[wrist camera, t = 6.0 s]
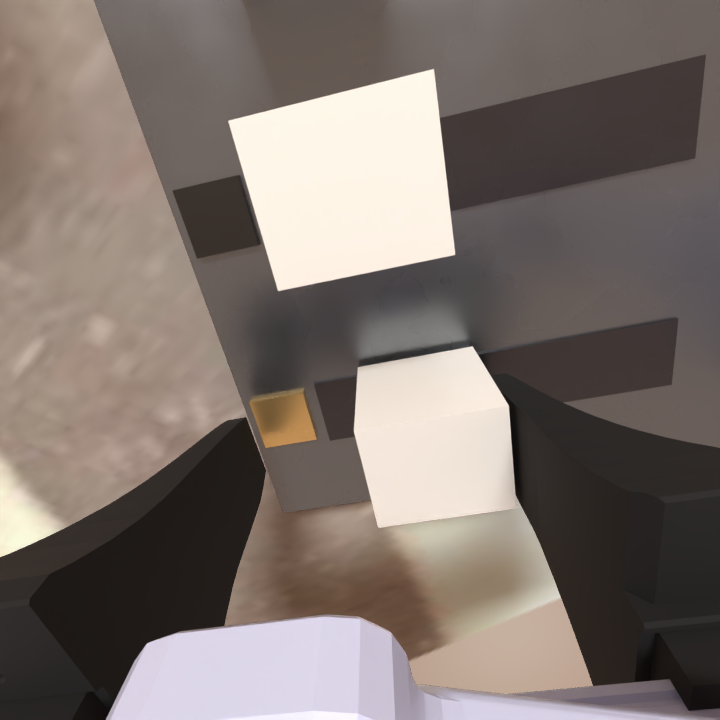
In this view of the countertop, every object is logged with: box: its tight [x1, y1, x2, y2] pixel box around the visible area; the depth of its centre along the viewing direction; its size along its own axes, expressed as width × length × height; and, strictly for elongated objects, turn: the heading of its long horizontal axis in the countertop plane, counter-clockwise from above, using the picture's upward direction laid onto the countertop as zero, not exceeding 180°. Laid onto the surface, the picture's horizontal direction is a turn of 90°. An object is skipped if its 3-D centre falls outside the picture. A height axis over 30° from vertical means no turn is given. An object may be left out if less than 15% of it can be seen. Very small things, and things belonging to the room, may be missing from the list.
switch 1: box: [228, 69, 455, 291], centre depth 9 cm, size 4×3×4 cm
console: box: [94, 0, 720, 513], centre depth 11 cm, size 16×21×2 cm
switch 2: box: [354, 346, 517, 528], centre depth 11 cm, size 4×3×4 cm
